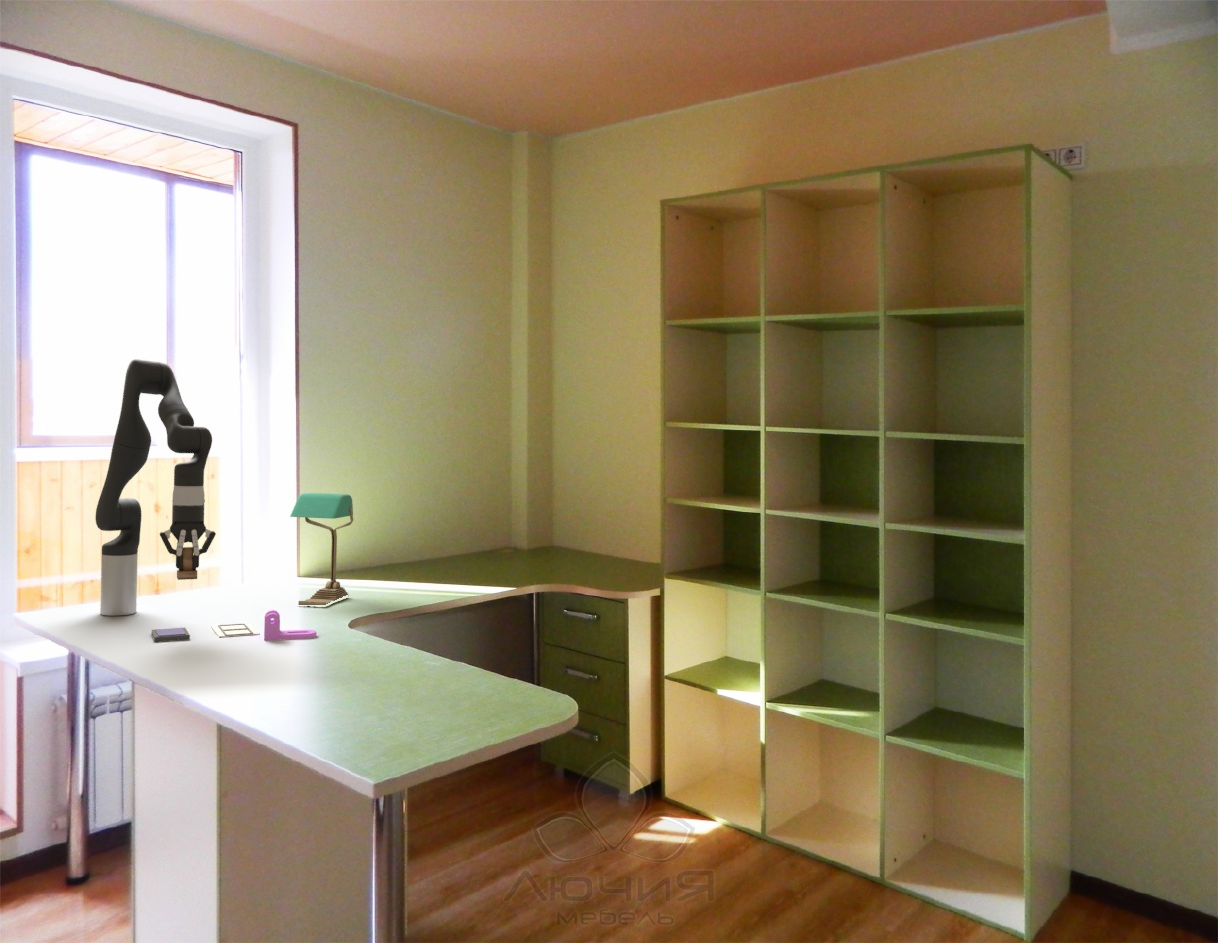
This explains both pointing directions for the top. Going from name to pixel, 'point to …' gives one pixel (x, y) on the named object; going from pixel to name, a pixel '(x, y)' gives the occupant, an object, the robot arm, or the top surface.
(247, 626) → the sheet
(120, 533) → the robot arm
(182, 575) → the stamp
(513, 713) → the top surface
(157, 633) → the ink pad
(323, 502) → the banker's lamp
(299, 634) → the bracket
